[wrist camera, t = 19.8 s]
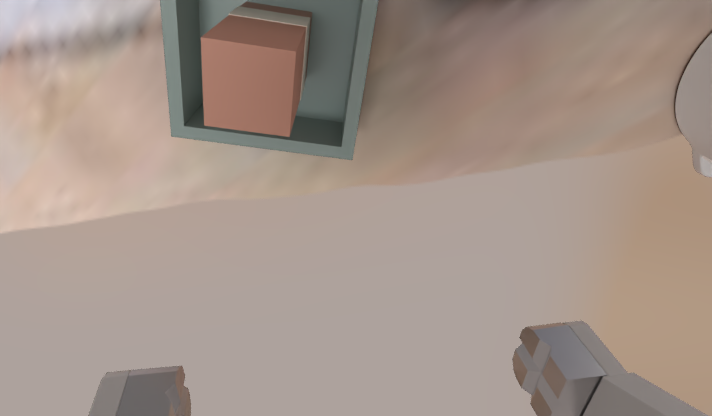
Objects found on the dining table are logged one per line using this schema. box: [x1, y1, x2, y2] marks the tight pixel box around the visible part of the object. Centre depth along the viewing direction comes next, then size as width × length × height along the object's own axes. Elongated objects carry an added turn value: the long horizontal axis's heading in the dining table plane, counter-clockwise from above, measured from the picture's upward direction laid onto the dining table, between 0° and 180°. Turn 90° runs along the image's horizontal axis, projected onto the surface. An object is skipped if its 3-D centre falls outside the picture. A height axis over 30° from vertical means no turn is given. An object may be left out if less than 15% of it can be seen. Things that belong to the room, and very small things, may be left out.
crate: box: [160, 0, 378, 160], centre depth 33 cm, size 14×14×6 cm
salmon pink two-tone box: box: [201, 1, 312, 137], centre depth 30 cm, size 5×5×12 cm
